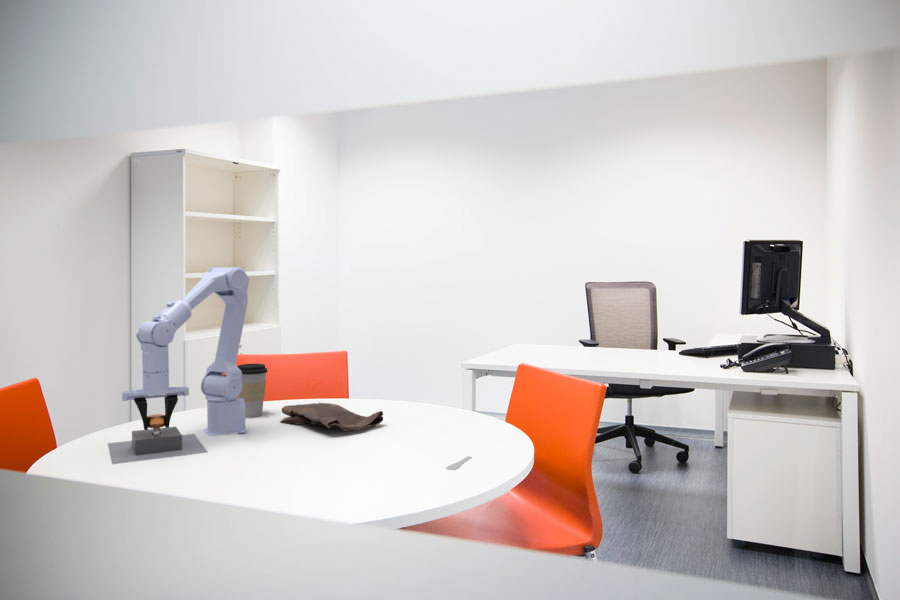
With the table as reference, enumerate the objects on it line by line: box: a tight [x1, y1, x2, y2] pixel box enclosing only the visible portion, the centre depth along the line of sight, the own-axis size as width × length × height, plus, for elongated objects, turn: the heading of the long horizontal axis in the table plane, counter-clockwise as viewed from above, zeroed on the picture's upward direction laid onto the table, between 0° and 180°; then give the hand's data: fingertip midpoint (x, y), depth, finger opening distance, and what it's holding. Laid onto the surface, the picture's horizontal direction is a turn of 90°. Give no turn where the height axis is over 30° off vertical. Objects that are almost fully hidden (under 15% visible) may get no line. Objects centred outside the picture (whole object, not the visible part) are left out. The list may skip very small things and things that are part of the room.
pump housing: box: [131, 426, 183, 455], centre depth 157 cm, size 10×10×4 cm
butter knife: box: [445, 456, 473, 471], centre depth 153 cm, size 1×24×3 cm
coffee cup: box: [237, 363, 268, 418], centre depth 196 cm, size 9×9×15 cm
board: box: [107, 433, 208, 465], centre depth 157 cm, size 20×20×1 cm
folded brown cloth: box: [279, 402, 384, 432], centre depth 186 cm, size 32×20×5 cm, turn 43°
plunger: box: [147, 413, 165, 434], centre depth 157 cm, size 4×4×7 cm
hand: (156, 427), depth 157 cm, fingers closed on plunger, 4 cm apart
